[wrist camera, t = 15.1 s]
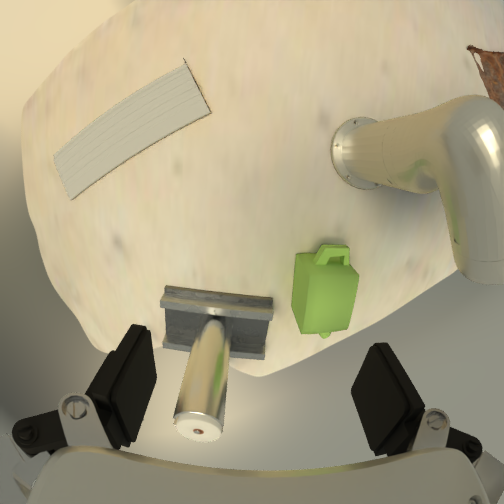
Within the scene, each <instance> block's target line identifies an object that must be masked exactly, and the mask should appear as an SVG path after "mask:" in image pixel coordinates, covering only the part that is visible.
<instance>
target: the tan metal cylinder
mask: <svg viewBox="0 0 504 504" xmlns="http://www.w3.org/2000/svg"><path fill="white" fill-rule="evenodd" d="M232 328H233V321H232V319H231V317H228V316H219V315H211V314H202V315H201V317H200V320H199V323H198V327H197V330H196V334H195V337H194V341H193V344H192V348H191V351H190V356H189V359H188V362H187V366H186V370H185V373H184V377H183V381H182V385H181V389H180V392H179V396H178V400H177V404H176V408H175V412H174V416H173V418H174V419H175V421H174V426H175V427H176V429H177V431H178V432H179V433H180V434H181V435H183V436H184V437H186V438H187V439H191V440H194V441H199V442H211V441H214V440H217V439H218V438H219V437H220V436H221V433H222V431H223V426H224V415H225V402H226V392H227V380H228V369H229V358H230V347H231V337H232Z"/></svg>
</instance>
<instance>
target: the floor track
mask: <svg viewBox="0 0 504 504" xmlns="http://www.w3.org/2000/svg"><path fill="white" fill-rule="evenodd" d="M272 302H273V298H269V297H259V296H249V295H240V294H231V293H222V292H213V291H205V290H197V289H189V288H182V287H174V286H167V285H166V286H165V293H164V294H163V296H162V298H161V300H160V307H161V308H165V321H166V335H165V337H164V339H163V342H162V343H163V348H168V349H174V350H180V351H186V352H190V351H191V348H192V344H193V341H194V337H195V334H196V330H197V327H198V323H199V320H200V317H201V315H202V314H211V315H219V316H228V317H231V319H232V321H233V328H232V337H231V347H230V357H234V358H245V359H257V360H264V358H265V346H264V345H265V339H266V334H267V329H268V324H269V321H272V318H273V308H272Z"/></svg>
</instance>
